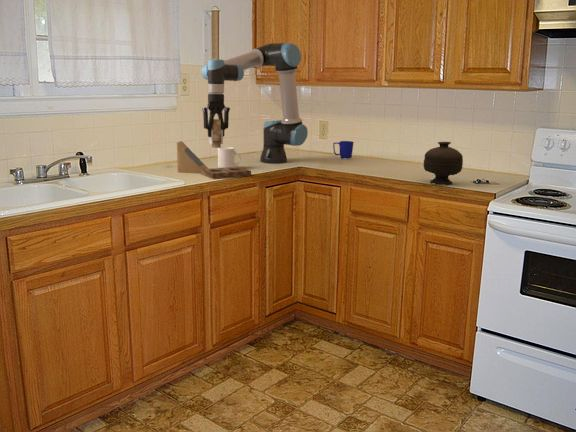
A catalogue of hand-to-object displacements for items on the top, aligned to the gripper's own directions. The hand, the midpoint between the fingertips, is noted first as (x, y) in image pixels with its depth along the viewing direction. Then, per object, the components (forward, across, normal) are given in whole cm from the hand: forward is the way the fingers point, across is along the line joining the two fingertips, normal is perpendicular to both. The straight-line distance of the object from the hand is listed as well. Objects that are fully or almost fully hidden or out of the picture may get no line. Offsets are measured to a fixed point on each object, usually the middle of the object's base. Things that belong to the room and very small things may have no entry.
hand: (216, 143), depth 272 cm
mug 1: (+16, -15, -17) cm, 28 cm away
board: (+15, -5, 0) cm, 16 cm away
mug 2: (+15, -95, -26) cm, 100 cm away
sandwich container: (+16, +5, -15) cm, 22 cm away
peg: (+2, 0, 0) cm, 2 cm away
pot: (+15, -88, +61) cm, 108 cm away
